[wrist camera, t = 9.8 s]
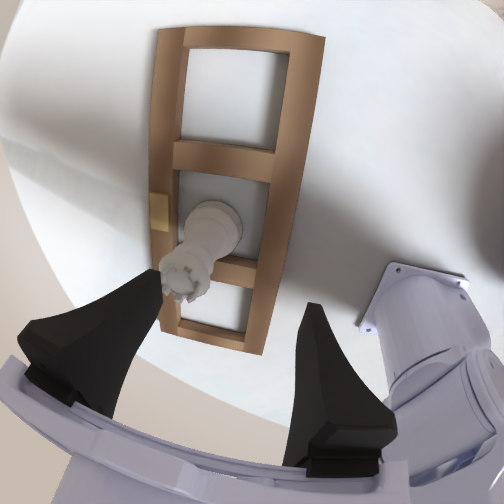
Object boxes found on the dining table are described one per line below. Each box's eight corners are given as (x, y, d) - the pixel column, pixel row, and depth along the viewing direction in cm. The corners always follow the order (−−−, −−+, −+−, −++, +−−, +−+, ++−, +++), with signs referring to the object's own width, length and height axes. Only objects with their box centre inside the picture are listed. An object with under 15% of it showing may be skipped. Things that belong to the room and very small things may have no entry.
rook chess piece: (253, 240, 22) (230, 308, 15) (205, 255, 23) (168, 320, 17) (229, 189, 20) (190, 240, 13) (180, 209, 22) (129, 263, 15)
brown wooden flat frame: (323, 41, 13) (325, 36, 12) (263, 346, 28) (261, 357, 27) (166, 32, 14) (157, 28, 13) (165, 323, 29) (159, 333, 28)
